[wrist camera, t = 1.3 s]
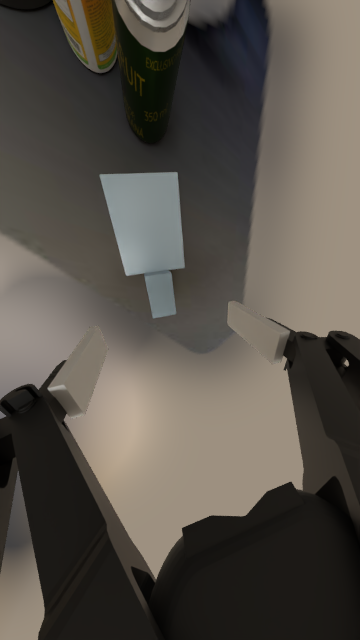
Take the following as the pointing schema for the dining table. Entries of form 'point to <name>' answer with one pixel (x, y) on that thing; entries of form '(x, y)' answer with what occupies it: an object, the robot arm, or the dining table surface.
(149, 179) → the lid
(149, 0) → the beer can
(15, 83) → the dining table surface
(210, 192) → the dining table surface
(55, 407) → the robot arm
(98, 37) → the supplement bottle
